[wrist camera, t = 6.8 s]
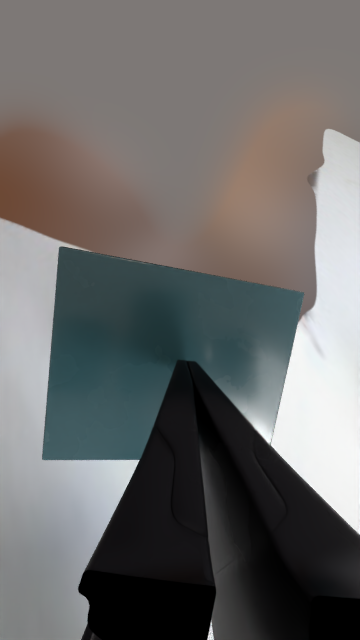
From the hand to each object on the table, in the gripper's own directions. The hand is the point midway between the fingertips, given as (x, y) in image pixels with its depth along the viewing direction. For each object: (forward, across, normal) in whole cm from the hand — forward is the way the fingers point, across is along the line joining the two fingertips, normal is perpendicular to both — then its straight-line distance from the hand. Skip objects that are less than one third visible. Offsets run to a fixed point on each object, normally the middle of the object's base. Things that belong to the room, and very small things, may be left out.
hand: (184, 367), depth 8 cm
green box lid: (+1, 0, +1) cm, 1 cm away
